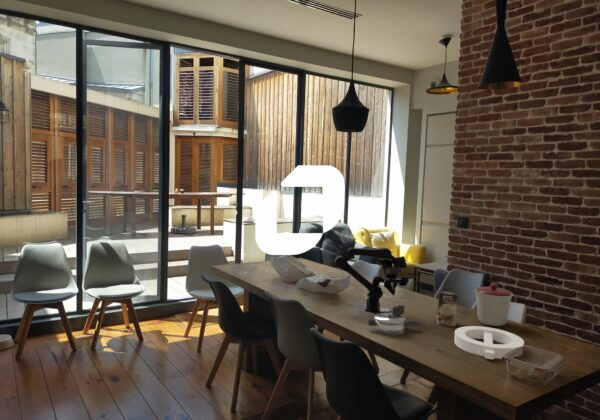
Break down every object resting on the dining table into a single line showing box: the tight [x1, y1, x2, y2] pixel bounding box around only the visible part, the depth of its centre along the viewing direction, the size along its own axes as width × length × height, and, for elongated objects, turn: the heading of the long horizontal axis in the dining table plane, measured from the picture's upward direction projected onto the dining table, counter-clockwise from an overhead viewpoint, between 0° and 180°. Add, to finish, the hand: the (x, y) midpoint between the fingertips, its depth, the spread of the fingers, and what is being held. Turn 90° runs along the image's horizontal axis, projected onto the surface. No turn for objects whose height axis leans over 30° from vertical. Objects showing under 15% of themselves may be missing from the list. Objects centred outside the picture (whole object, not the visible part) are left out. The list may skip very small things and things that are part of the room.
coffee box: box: [436, 290, 458, 327], centre depth 224 cm, size 9×6×16 cm
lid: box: [373, 304, 407, 324], centre depth 212 cm, size 15×19×5 cm
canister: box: [474, 282, 514, 327], centre depth 227 cm, size 18×18×21 cm
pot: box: [367, 319, 419, 336], centre depth 211 cm, size 14×24×5 cm, turn 97°
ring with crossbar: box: [453, 325, 525, 360], centre depth 194 cm, size 28×28×5 cm
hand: (393, 294), depth 229 cm, fingers closed
